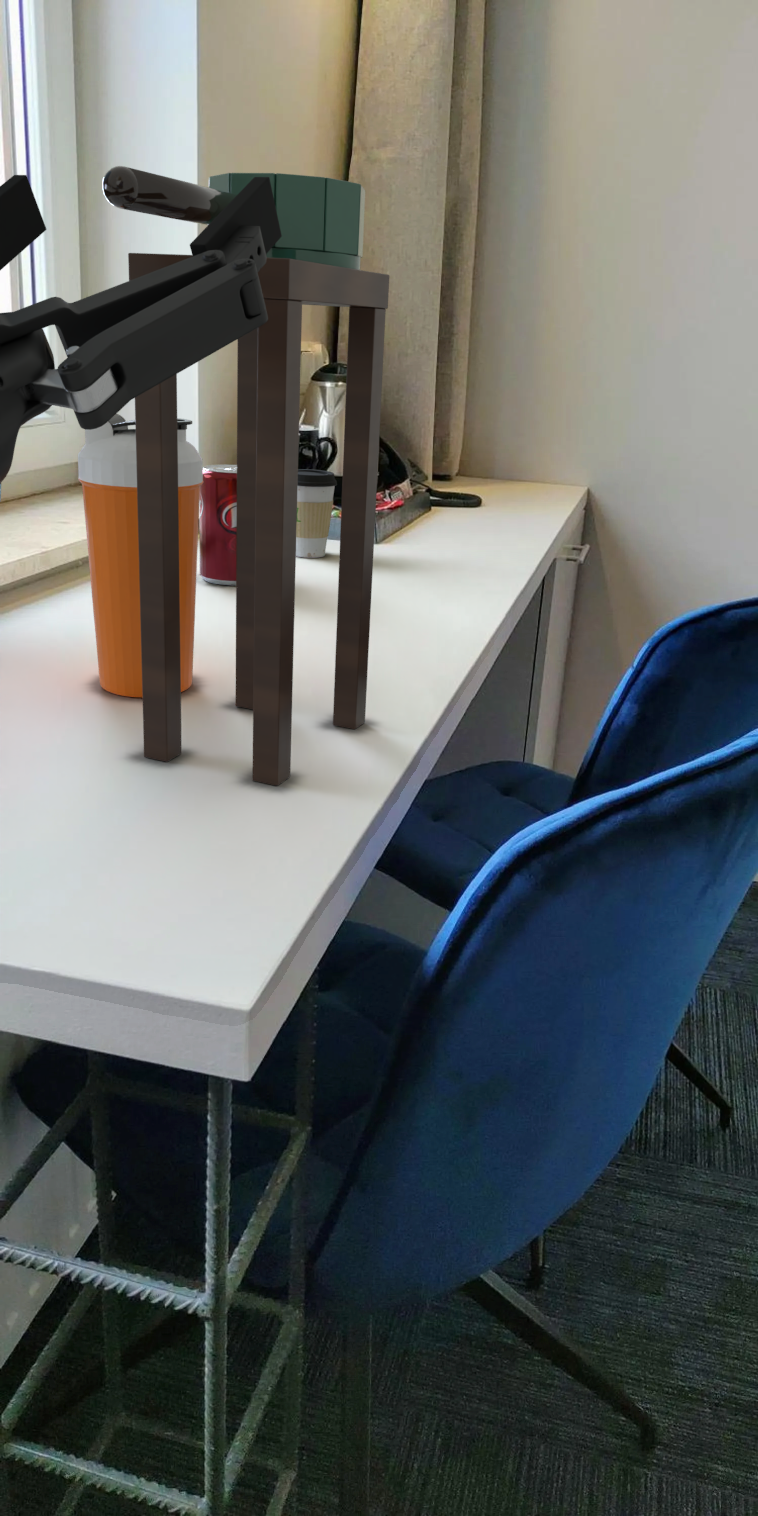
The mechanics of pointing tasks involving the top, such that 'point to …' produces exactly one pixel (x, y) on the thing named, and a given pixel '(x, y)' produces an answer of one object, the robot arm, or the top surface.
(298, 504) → the coffee cup
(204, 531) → the soda can
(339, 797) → the top surface
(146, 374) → the robot arm
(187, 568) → the shaker bottle
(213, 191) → the green faceted container
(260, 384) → the tall wooden stool
